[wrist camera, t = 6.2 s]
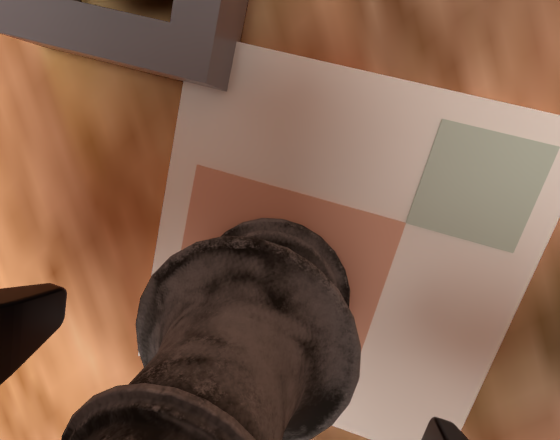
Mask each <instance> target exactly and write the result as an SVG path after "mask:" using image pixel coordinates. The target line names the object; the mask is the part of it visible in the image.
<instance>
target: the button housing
mask: <svg viewBox="0 0 560 440" xmlns="http://www.w3.org/2000/svg"><path fill="white" fill-rule="evenodd" d="M247 4H248V0H173V6H172V13H171V20H170V22H167V21H163V20H158V19H154V18H149V17H145V16H140V15H136V14H132V13H127V12H123V11H118V10H114V9H110V8H105V7H101V6H96V5H92V4H87V3H83V2H81V0H0V34H4V35H7V36H10V37H14V38H17V39H20V40H23V41H27V42H30V43H33V44H37V45H40V46H43V47H47V48H51V49H55V50H59V51H63V52H67V53H71V54H75V55H79V56H83V57H87V58H91V59H95V60H99V61H103V62H108V63H112V64H116V65H120V66H124V67H128V68H132V69H136V70H140V71H144V72H148V73H152V74H156V75H160V76H164V77H168V78H172V79H176V80H180V81H186V82H190V83H194V84H198V85H202V86H206V87H210V88H214V89H218V90H222V91H226V92H227V88H228V83H229V78H230V73H231V68H232V63H233V58H234V53H235V47H236V42H240V39H241V34H242V29H243V24H244V19H245V14H246V9H247Z"/></svg>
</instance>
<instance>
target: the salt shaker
mask: <svg viewBox="0 0 560 440" xmlns="http://www.w3.org/2000/svg"><path fill="white" fill-rule="evenodd" d="M349 302H350V287H349V283H348V279H347V274H346V270H345V268H344V266H343V265H342V263H341V261H340V259H339V257H338V256H337V254H336V252H335V251H334V250H333V249H332V248H331V247H330V246H329V245H328V243H327V242H326V241H325V240H324V239H323V238H322V237H321V236H319V235H318V234H316V233H314V232H313V231H311V230H310V229H308V228H306V227H305V226H303V225H301V224H297V223H294V222H291V221H288V220H285V219H275V218H259V219H255V220H250V221H246V222H242V223H241V224H239V225H237V226H235V227H233V228H231V229H229V230H228V231H226V232H225V233H224V234H223V235H222V236H221V237H217V238H212V239H207V240H203V241H198V242H195V243H194V244H192V245H190V246H188V247H186V248H184V249H183V250H181V251H179V252H177V253H175V254H173V255H172V256H170V257H169V258H168V259H167V260H166V261H165V262H164V263H163V264H162V265H161V267H160V268H159V269H158V270H157V271H156V272H155V273H154V274H153V275H152V276H151V278H150V280H149V282H148V284H147V286H146V288H145V290H144V292H143V294H142V296H141V298H140V303H139V308H138V314H137V319H136V332H137V343H138V351H139V354H140V357H141V360H142V363H143V366H144V368H143V369H142V370H141V372H140V373H139V374H138V375H137V376H136V377H135V378H134V379H133V380H132V381H131V382H130V383H129V385H120V386H115V387H113V388H111V389H108V390H106V391H103V392H101V393H99V394H96V395H94V396H93V397H92V398H91V399H89V400H88V401H87V402H86V403H85V404H84V405H83V406H82V407H81V408H80V409H78V410H77V411H76V412H75V413H74V414H73V415H72V417H71V419H70V421H69V423H68V425H67V427H66V429H65V431H64V433H63V435H62V440H310V439H312V438H313V437H315V436H316V435H318V434H319V433H321V432H322V431H324V430H325V429H327V428H328V427H330V426H331V425H333V424H334V422H335V421H336V420H337V419H338V417H339V416H340V415H341V414H342V413H343V411H344V410H345V409H346V408H347V406H348V405H349V404H350V401H351V399H352V396H353V394H354V391H355V388H356V386H357V383H358V381H359V377H360V360H361V344H360V340H359V336H358V332H357V328H356V323H355V319H354V316H353V314H352V313H351V311H350V309H349Z"/></svg>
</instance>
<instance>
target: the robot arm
mask: <svg viewBox="0 0 560 440" xmlns="http://www.w3.org/2000/svg"><path fill="white" fill-rule="evenodd" d="M66 298H67V292H66V290H65V289H64V288H63V287H60V286H57V285H54V284H51V283H46V284H37V285H29V286H20V287H11V288H3V289H0V385H1V384H2V383H3V382H4V381H5V380H6V379H8V378H9V377H10V376H11V375H12V374H13V373H14V372H15V371H16V370H17V369H18V368H19V367H20V366H21V365H22V364H23V363H24V362H25V361H26V360H27V359H28V358H29V357H30V356H31V355H32V354H33V353H34V352H35V351H36V350H37V349H38V348H39V347H40V346H41V345H42V344H43V343H44V342H45V341H46V340H47V339H48V338H49V337H50V336H51V335H52V334H53V333H54V332H55V331H56V330H57V329H58V328H59V327H60V326H61V324H62V323H63V320H64V317H65V308H66ZM421 440H468V439H467V437H466V436H465V435H464V434H463V433H462V432H461V431H460V430H459V429H458V427H457V426H456V425H455V424H454V423H452V422H450V421H447V420H444V419H442V418H439V417H432V418H431V419H430V421H429V423H428V425H427V428H426V430H425V432H424V435H423V437H422V439H421Z"/></svg>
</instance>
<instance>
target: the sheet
mask: <svg viewBox="0 0 560 440" xmlns="http://www.w3.org/2000/svg"><path fill="white" fill-rule="evenodd" d="M259 218H275V219H285V220H288V221H291V222H294V223H297V224H301V225H303V226H305V227H306V228H308V229H310V230H311V231H313V232H314V233H316V234H318V235H319V236H321V237H322V238H323V239H324V240H325V241H326V242H327V243H328V245H329V246H330V247H331V248H332V249H333V250H334V251H335V252H336V254H337V256H338V257H339V259H340V261H341V263H342V265H343V266H344V268H345V270H346V274H347V279H348V283H349V287H350V302H349V309H350V311H351V313H352V314H353V316H354V319H355V323H356V328H357V332H358V336H359V340H360V344H361V360H360V377H359V381H358V383H357V386H356V388H355V391H354V394H353V396H352V399H351V401H350V404H349V405H348V406H347V408H346V409H345V410H344V411H343V413H342V414H341V415H340V416H339V417H338V419H337V420H336V421H335V422H334V424H333V425H332V426H334V427H337V428H340V429H343V430H345V431H348V432H351V433H354V434H357V435H359V436H362V437H365V438H368V439H370V440H421V439H422V437H423V435H424V432H425V430H426V428H427V425H428V423H429V421H430V419H431V418H432V417H439V418H442V419H444V420H447V421H450V422H452V423H454V424H455V425H456V426H457V427H458V429H459V430H460V431H461V429H462V427H463V425H464V423H465V421H466V419H467V416H468V414H469V412H470V410H471V408H472V406H473V403H474V401H475V399H476V397H477V395H478V393H479V391H480V388H481V386H482V384H483V382H484V380H485V378H486V375H487V373H488V371H489V369H490V367H491V365H492V362H493V360H494V358H495V356H496V354H497V352H498V349H499V347H500V345H501V343H502V341H503V339H504V336H505V334H506V332H507V330H508V328H509V326H510V324H511V321H512V319H513V317H514V315H515V313H516V311H517V308H518V306H519V304H520V302H521V300H522V298H523V295H524V293H525V291H526V289H527V287H528V285H529V282H530V280H531V278H532V276H533V274H534V272H535V269H536V267H537V265H538V263H539V261H540V259H541V257H542V254H543V252H544V250H545V248H546V246H547V244H548V241H549V239H550V237H551V235H552V233H553V231H554V228H555V226H556V224H557V222H558V220H559V218H560V115H557V114H553V113H549V112H544V111H540V110H535V109H531V108H527V107H522V106H518V105H513V104H509V103H505V102H500V101H496V100H491V99H487V98H483V97H478V96H474V95H470V94H465V93H461V92H456V91H452V90H448V89H443V88H439V87H434V86H430V85H426V84H421V83H417V82H413V81H408V80H404V79H399V78H395V77H391V76H386V75H382V74H377V73H373V72H369V71H364V70H360V69H356V68H351V67H347V66H342V65H338V64H334V63H329V62H325V61H320V60H316V59H312V58H307V57H303V56H299V55H294V54H290V53H285V52H281V51H277V50H272V49H268V48H263V47H259V46H255V45H250V44H246V43H242V42H236V47H235V53H234V58H233V63H232V68H231V73H230V78H229V83H228V88H227V92H226V91H222V90H218V89H214V88H210V87H206V86H202V85H198V84H194V83H190V82H186V81H183V86H182V92H181V98H180V104H179V110H178V117H177V123H176V129H175V135H174V141H173V147H172V153H171V159H170V165H169V171H168V177H167V183H166V189H165V195H164V201H163V207H162V213H161V219H160V225H159V231H158V237H157V243H156V250H155V256H154V262H153V268H152V274H151V276H152V275H153V274H154V273H155V272H156V271H157V270H158V269H159V268H160V267H161V265H162V264H163V263H164V262H165V261H166V260H167V259H168V258H169V257H170V256H172V255H173V254H175V253H177V252H179V251H181V250H183V249H184V248H186V247H188V246H190V245H192V244H194V243H195V242H198V241H203V240H207V239H212V238H217V237H221V236H222V235H223V234H224V233H225V232H226V231H228V230H229V229H231V228H233V227H235V226H237V225H239V224H241V223H242V222H246V221H250V220H255V219H259ZM138 356H140V354H139V352H138Z"/></svg>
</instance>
